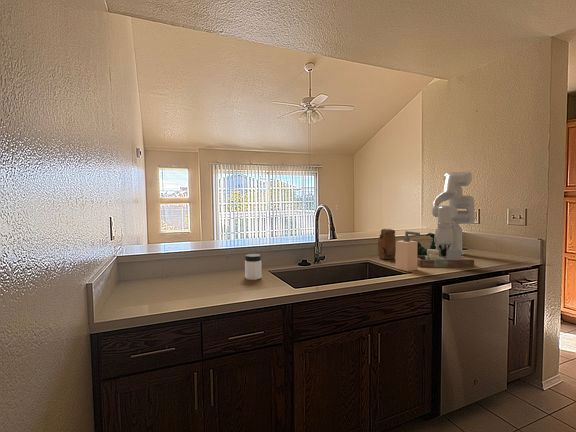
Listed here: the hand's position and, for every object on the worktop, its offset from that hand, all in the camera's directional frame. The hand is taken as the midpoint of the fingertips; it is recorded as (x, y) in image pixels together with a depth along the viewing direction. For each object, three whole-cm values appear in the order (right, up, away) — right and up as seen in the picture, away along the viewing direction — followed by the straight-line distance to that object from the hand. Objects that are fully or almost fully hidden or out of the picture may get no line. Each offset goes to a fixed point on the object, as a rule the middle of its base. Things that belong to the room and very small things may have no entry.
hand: (443, 255), depth 199 cm
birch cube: (-7, -1, -1) cm, 7 cm away
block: (-30, -4, +19) cm, 35 cm away
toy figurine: (-5, -4, +22) cm, 23 cm away
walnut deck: (-2, -5, 0) cm, 5 cm away
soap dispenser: (-27, -6, -14) cm, 31 cm away
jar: (-115, -8, -31) cm, 119 cm away
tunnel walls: (+3, -1, 0) cm, 3 cm away
